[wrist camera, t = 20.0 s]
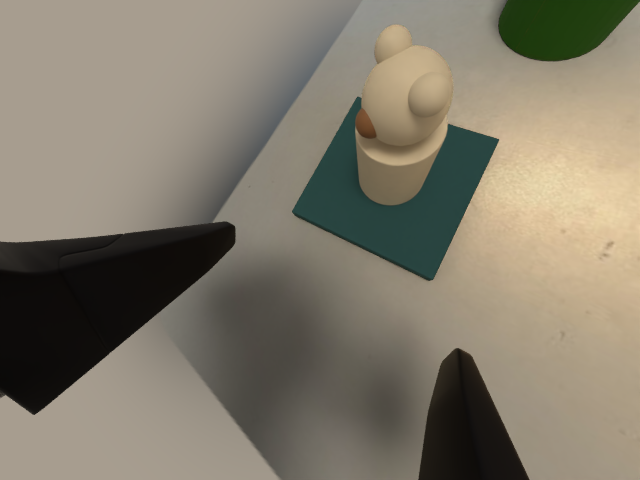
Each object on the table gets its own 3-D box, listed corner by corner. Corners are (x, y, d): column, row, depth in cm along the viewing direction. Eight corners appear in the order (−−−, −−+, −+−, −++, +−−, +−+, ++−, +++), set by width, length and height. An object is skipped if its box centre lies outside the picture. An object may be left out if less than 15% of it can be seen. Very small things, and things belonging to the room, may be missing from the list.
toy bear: (403, 138, 20) (438, -16, 10) (436, 187, 18) (512, 64, 9) (347, 166, 20) (328, 45, 11) (375, 217, 19) (383, 130, 9)
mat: (429, 281, 18) (433, 280, 17) (294, 215, 21) (291, 211, 20) (493, 146, 19) (499, 139, 18) (357, 104, 23) (357, 96, 22)
